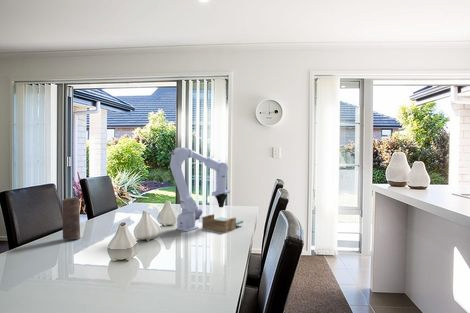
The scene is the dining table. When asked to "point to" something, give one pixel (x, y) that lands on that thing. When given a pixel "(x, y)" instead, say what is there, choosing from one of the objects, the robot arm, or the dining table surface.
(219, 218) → the light blue panel
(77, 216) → the candle
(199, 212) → the flower
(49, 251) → the dining table surface
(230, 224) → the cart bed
